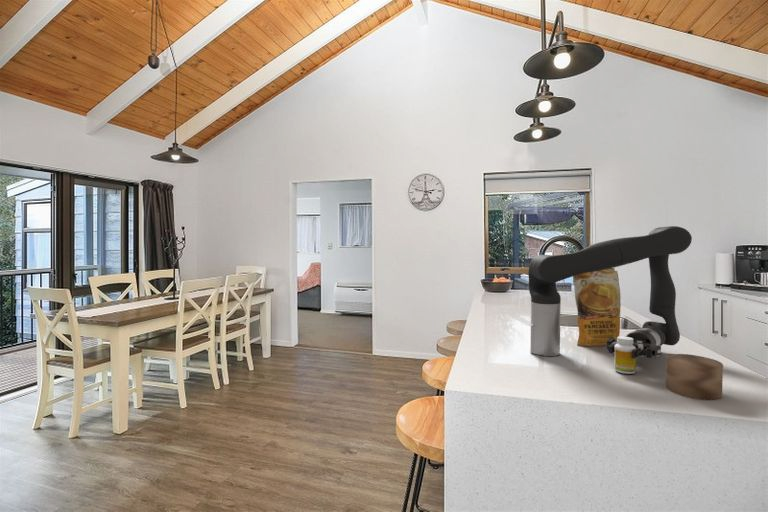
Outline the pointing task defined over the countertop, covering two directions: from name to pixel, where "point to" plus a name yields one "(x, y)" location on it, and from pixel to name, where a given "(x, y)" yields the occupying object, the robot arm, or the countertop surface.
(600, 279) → the pancake mix bag
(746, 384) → the countertop surface
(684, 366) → the walnut block
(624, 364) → the supplement bottle
